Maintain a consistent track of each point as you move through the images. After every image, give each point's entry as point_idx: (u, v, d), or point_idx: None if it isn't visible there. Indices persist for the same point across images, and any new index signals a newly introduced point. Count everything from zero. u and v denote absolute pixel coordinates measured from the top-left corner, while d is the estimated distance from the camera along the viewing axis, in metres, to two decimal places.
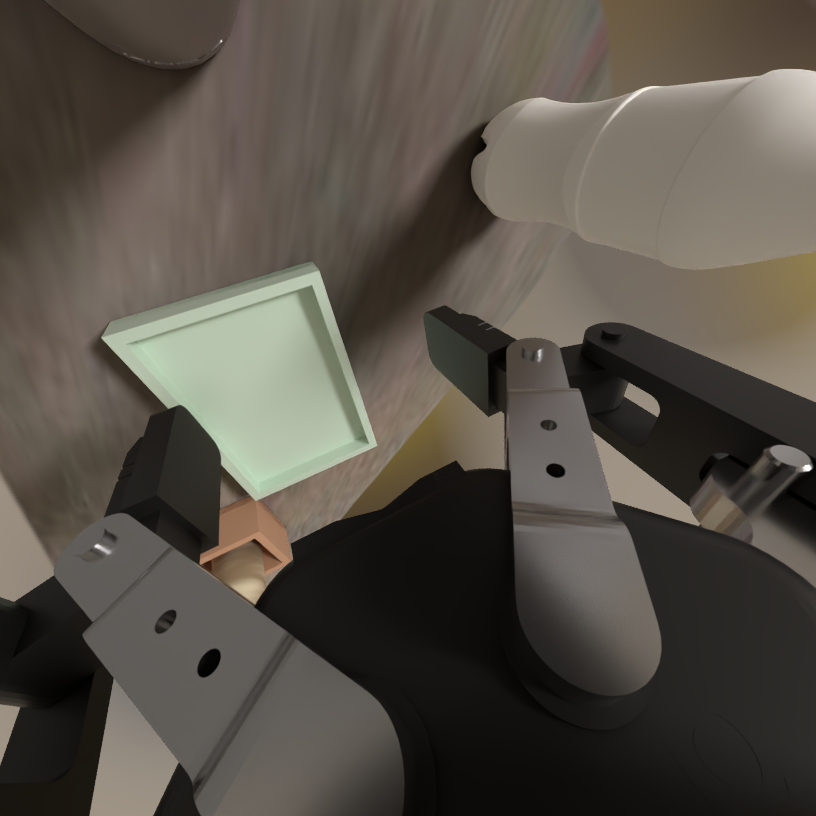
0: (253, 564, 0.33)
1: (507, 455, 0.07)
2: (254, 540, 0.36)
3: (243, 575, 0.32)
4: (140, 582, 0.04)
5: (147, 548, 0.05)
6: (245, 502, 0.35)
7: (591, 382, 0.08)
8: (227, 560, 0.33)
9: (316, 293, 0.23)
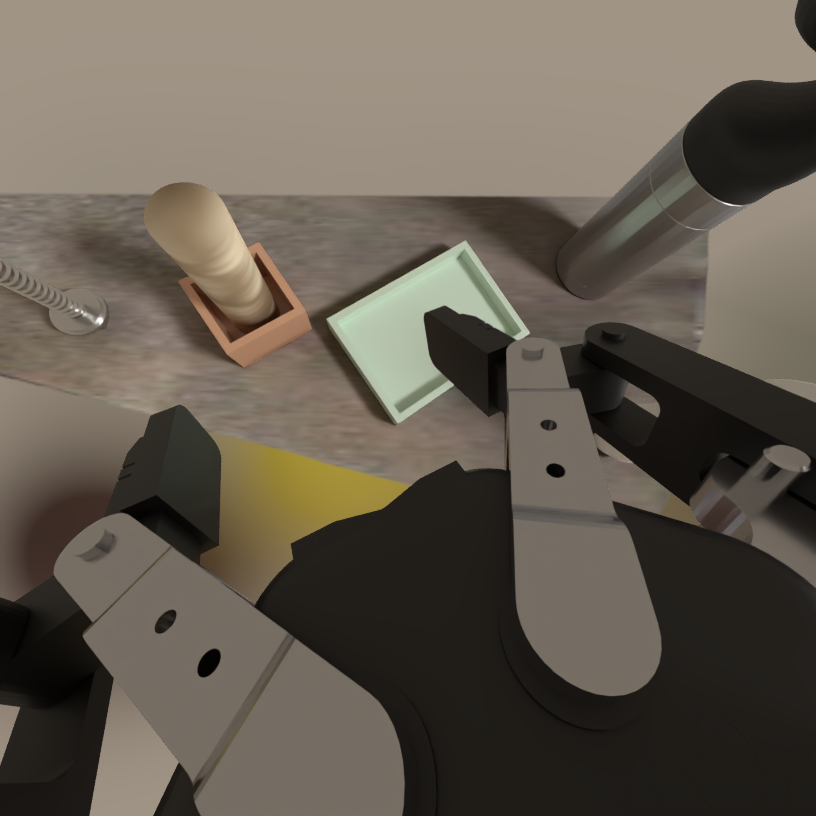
0: (263, 302, 0.30)
1: (507, 455, 0.07)
2: (268, 318, 0.33)
3: (263, 286, 0.29)
4: (140, 582, 0.04)
5: (147, 548, 0.05)
6: None
7: (591, 382, 0.08)
8: None
9: (518, 334, 0.39)
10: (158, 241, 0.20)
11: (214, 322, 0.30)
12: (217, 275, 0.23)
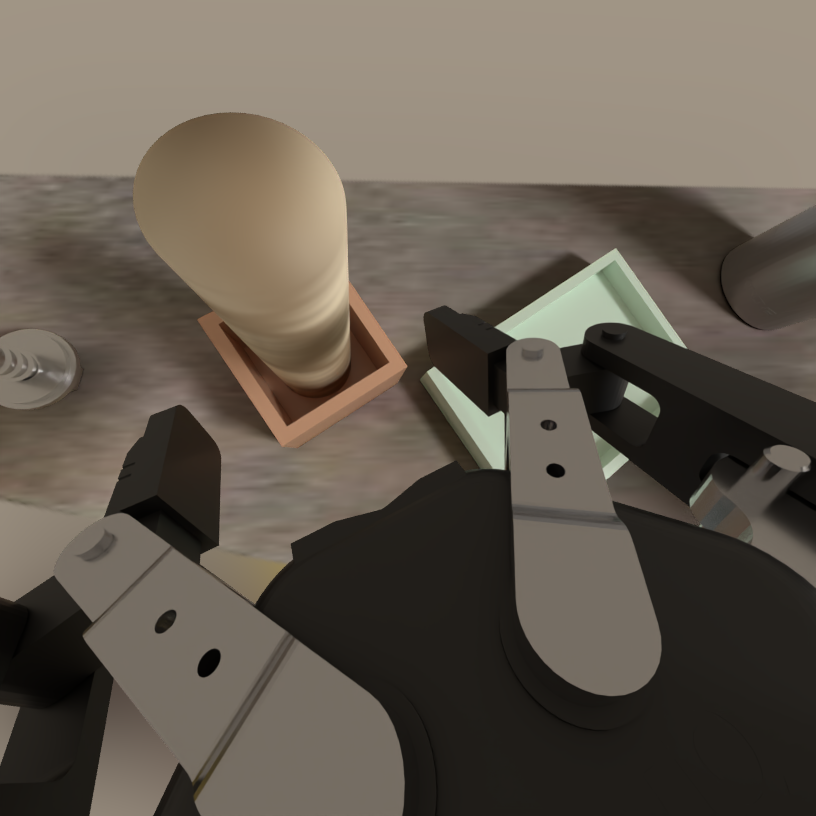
0: (345, 356, 0.17)
1: (507, 455, 0.07)
2: (342, 375, 0.20)
3: (349, 331, 0.17)
4: (140, 582, 0.04)
5: (147, 548, 0.05)
6: None
7: (591, 382, 0.08)
8: None
9: None
10: (172, 263, 0.07)
11: (260, 390, 0.18)
12: (297, 332, 0.11)
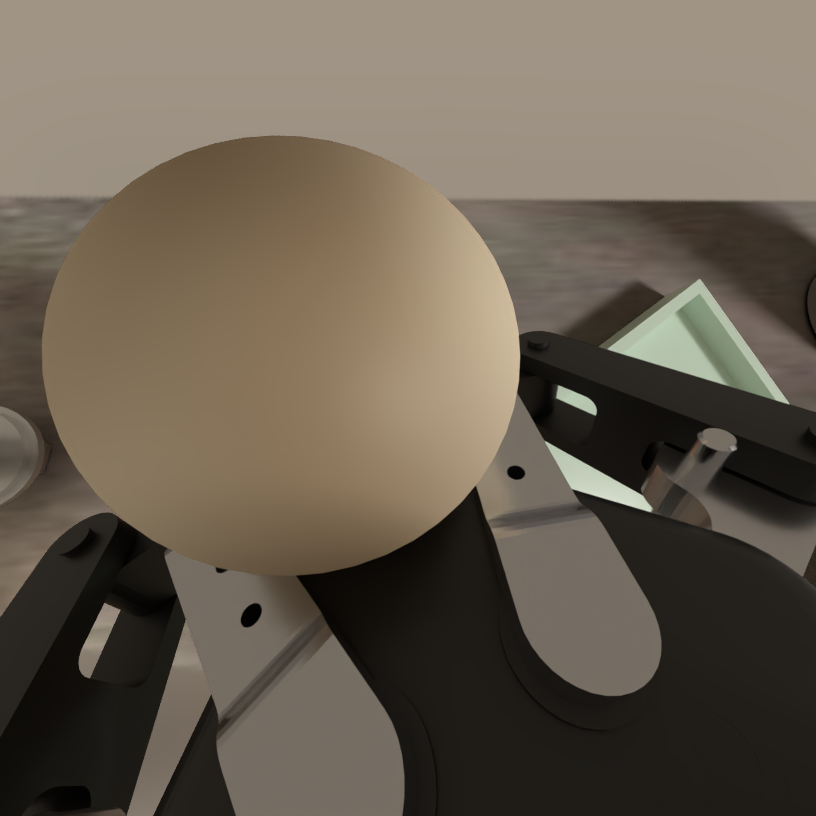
0: None
1: None
2: None
3: None
4: None
5: None
6: None
7: (518, 389, 0.08)
8: None
9: None
10: (139, 516, 0.03)
11: None
12: None
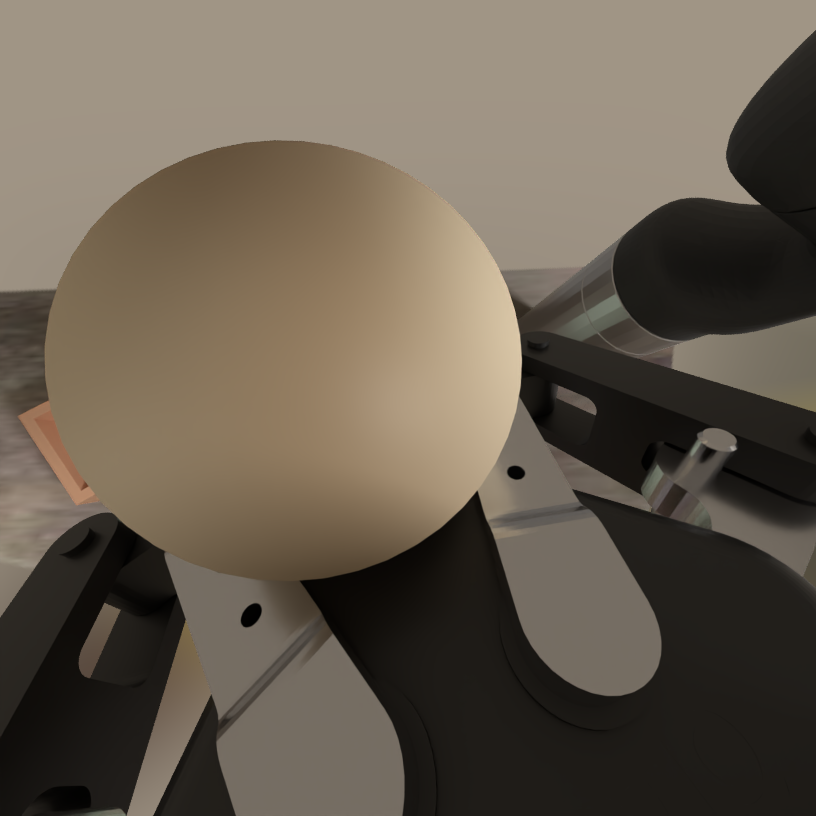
0: None
1: None
2: None
3: None
4: None
5: None
6: None
7: None
8: None
9: None
10: (142, 522, 0.03)
11: (62, 465, 0.25)
12: None
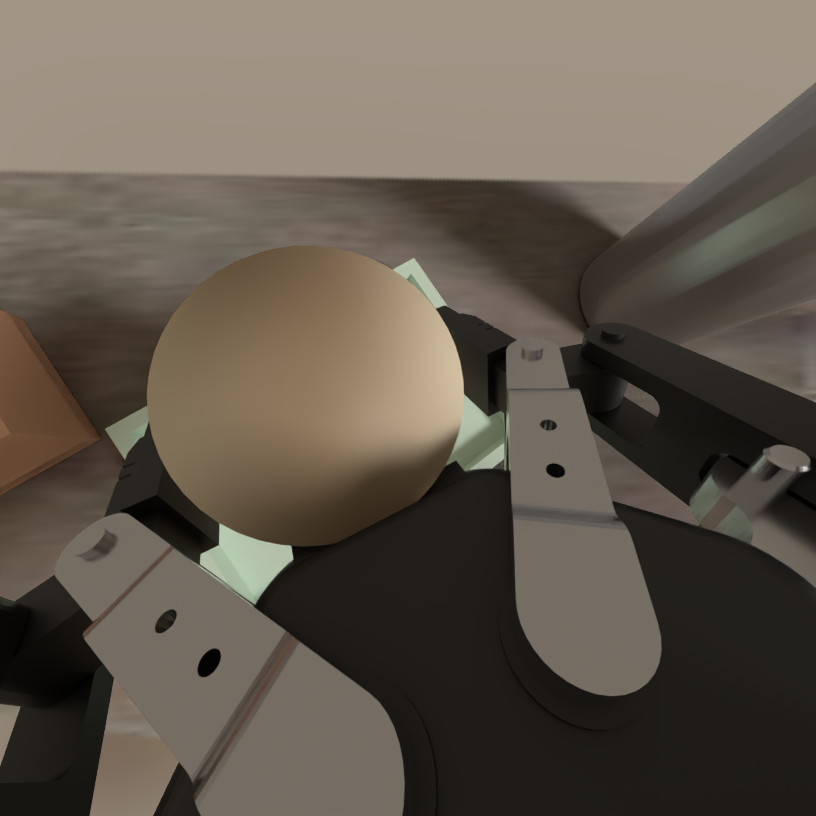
0: None
1: (507, 455, 0.07)
2: None
3: None
4: (141, 582, 0.04)
5: (147, 548, 0.05)
6: (82, 422, 0.18)
7: (591, 382, 0.08)
8: None
9: None
10: (208, 507, 0.05)
11: None
12: None
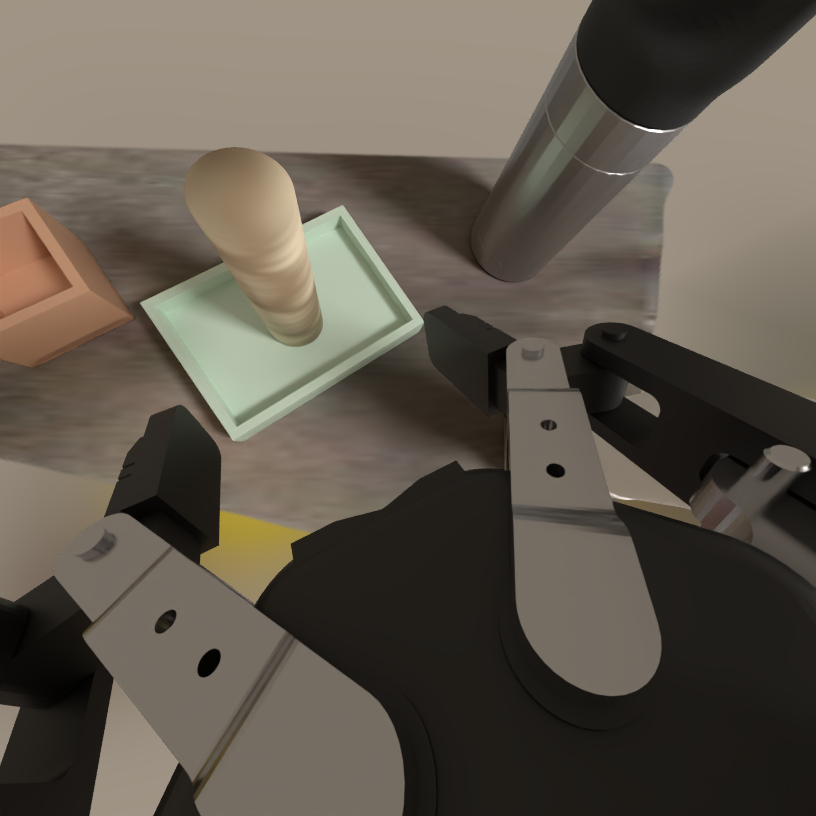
0: (312, 307, 0.25)
1: (507, 455, 0.07)
2: (313, 326, 0.28)
3: (314, 287, 0.24)
4: (140, 582, 0.04)
5: (147, 548, 0.05)
6: (123, 305, 0.28)
7: (591, 382, 0.08)
8: None
9: (407, 323, 0.30)
10: (203, 224, 0.15)
11: None
12: (272, 272, 0.18)
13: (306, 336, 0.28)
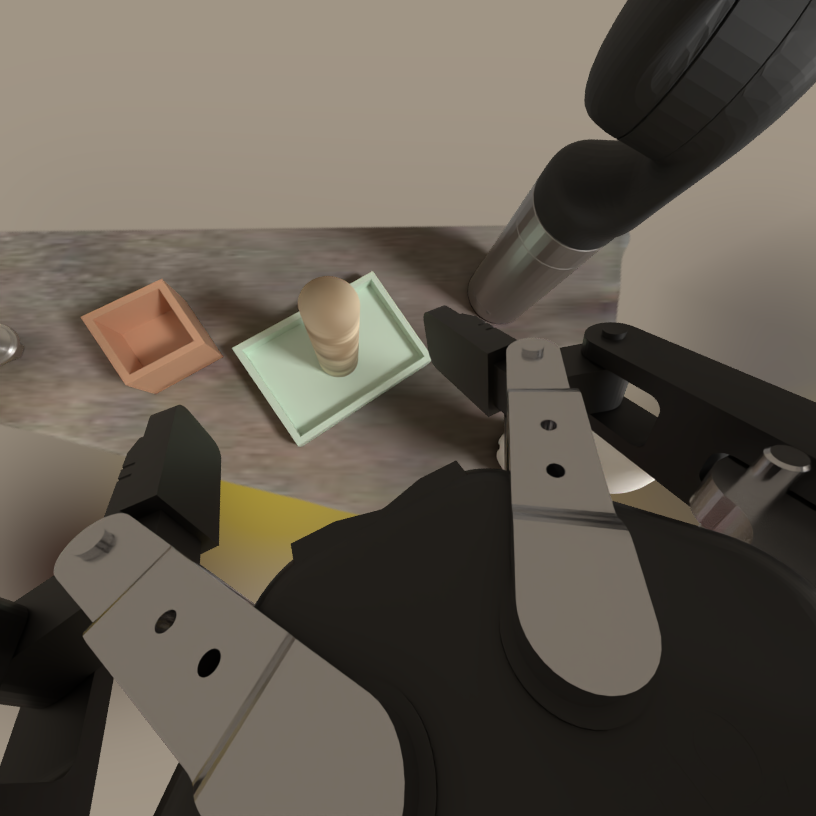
0: (356, 354, 0.35)
1: (507, 455, 0.07)
2: (354, 364, 0.38)
3: None
4: (140, 582, 0.04)
5: (147, 548, 0.05)
6: (216, 348, 0.39)
7: (591, 382, 0.08)
8: None
9: (421, 359, 0.41)
10: (309, 324, 0.26)
11: (114, 355, 0.33)
12: (340, 344, 0.29)
13: (348, 371, 0.39)
